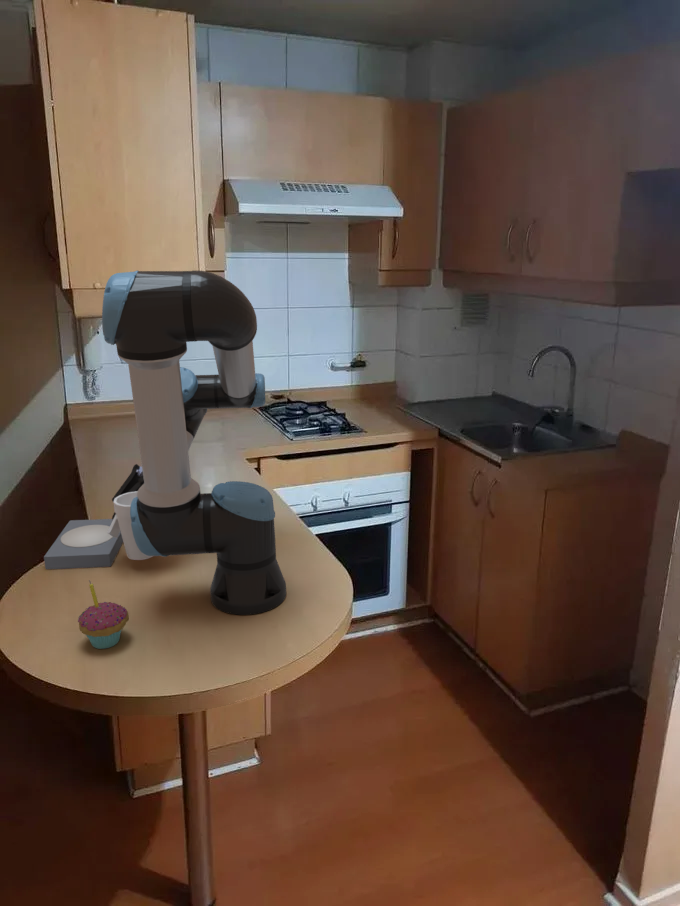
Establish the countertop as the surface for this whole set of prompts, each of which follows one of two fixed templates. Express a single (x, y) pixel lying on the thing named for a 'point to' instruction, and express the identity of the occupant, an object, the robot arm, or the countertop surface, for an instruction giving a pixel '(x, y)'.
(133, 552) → the foam cup
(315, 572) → the countertop surface
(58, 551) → the pedestal
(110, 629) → the cupcake
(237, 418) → the countertop surface
